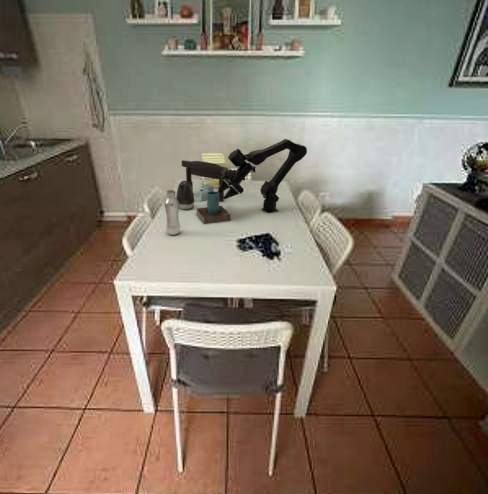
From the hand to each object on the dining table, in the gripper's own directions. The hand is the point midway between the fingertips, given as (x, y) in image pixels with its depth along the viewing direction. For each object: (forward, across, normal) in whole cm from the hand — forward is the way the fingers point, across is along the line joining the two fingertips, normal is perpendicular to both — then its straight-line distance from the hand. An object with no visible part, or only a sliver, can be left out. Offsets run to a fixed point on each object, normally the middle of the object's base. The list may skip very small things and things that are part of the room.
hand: (220, 196), depth 165 cm
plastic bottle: (+28, +13, -12) cm, 33 cm away
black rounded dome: (+18, -18, -2) cm, 26 cm away
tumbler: (+11, 0, +5) cm, 12 cm away
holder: (+11, 0, +5) cm, 12 cm away
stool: (+7, -31, +8) cm, 33 cm away
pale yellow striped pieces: (-4, -57, +19) cm, 60 cm away
